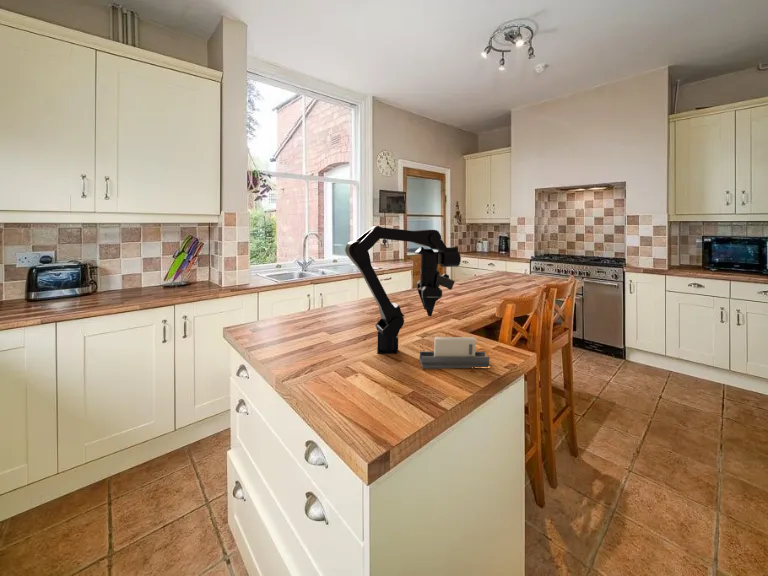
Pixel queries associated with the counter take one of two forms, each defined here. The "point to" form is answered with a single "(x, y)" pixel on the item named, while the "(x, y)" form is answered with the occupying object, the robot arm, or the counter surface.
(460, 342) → the door panel
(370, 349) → the counter surface
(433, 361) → the track
